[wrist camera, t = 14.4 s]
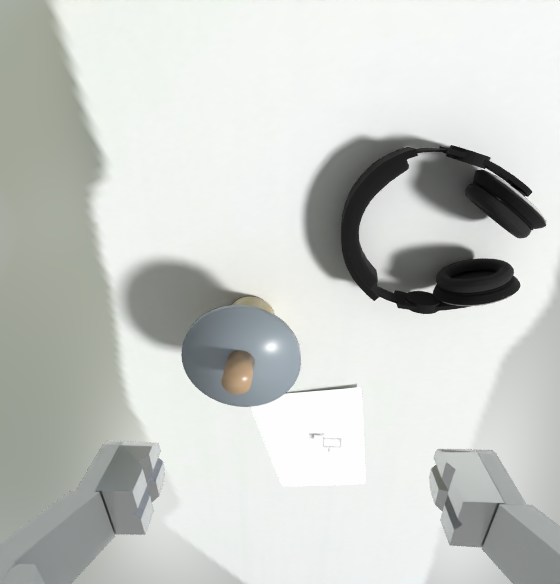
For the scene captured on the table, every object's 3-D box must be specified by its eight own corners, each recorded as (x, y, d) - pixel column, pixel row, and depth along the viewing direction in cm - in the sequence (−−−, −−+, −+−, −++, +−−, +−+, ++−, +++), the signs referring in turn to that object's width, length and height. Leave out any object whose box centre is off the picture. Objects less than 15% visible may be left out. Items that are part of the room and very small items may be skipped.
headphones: (515, 338, 39) (327, 307, 41) (488, 305, 46) (329, 280, 48) (595, 163, 31) (359, 135, 33) (548, 155, 38) (356, 132, 40)
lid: (176, 304, 38) (161, 327, 34) (300, 304, 37) (301, 328, 33) (192, 400, 44) (181, 429, 40) (300, 401, 43) (300, 431, 39)
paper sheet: (364, 489, 63) (365, 495, 62) (201, 483, 66) (199, 489, 65) (372, 383, 53) (374, 388, 52) (178, 381, 55) (175, 386, 54)
